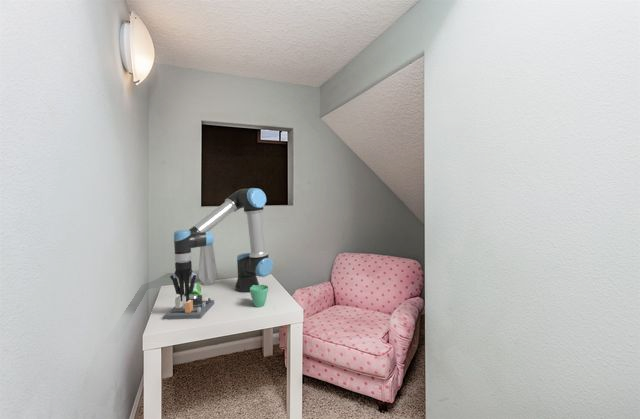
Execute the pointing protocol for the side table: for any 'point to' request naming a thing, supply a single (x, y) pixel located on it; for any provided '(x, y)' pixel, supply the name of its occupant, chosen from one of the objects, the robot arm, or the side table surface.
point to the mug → (259, 294)
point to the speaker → (196, 289)
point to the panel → (198, 310)
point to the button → (193, 296)
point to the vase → (207, 265)
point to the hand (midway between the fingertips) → (185, 307)
